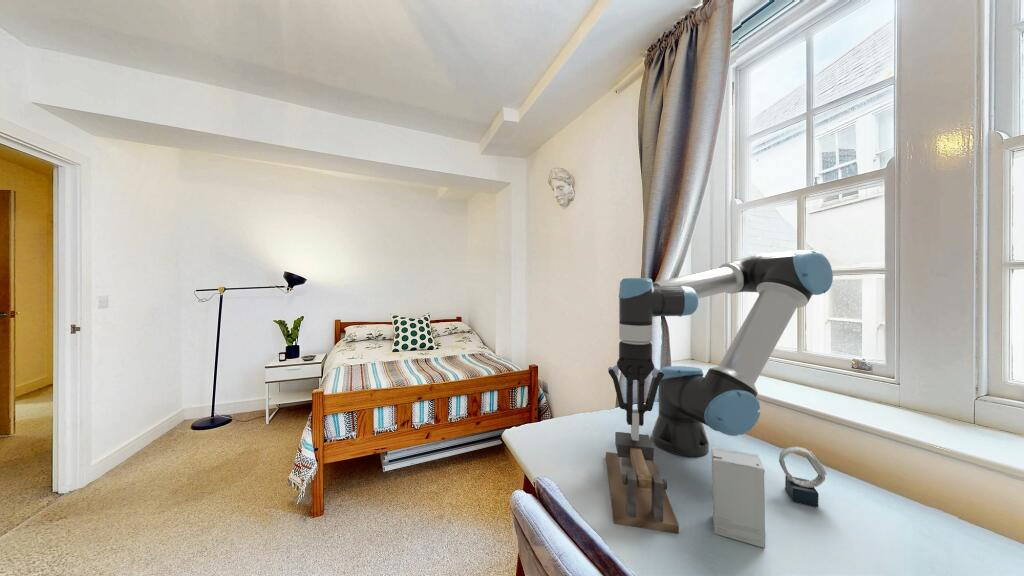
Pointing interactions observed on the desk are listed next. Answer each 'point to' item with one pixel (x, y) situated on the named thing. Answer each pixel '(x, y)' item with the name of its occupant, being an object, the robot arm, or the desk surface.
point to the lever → (636, 456)
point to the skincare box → (738, 496)
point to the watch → (803, 488)
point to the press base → (638, 497)
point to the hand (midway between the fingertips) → (634, 437)
